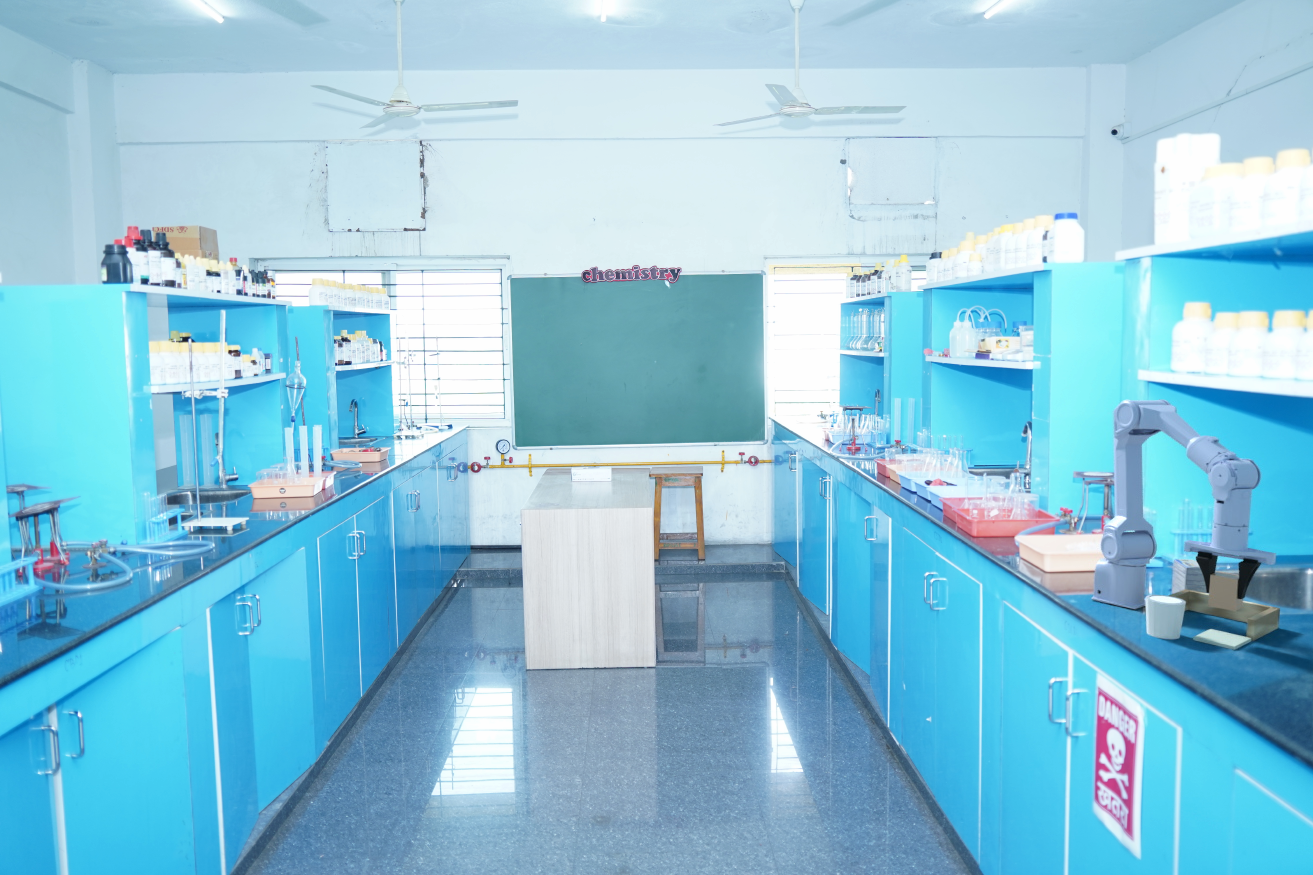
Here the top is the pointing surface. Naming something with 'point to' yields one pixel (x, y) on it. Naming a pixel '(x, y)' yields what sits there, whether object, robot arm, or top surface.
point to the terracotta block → (1224, 591)
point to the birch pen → (1235, 612)
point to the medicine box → (1187, 576)
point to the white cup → (1164, 616)
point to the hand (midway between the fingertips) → (1225, 595)
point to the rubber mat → (1222, 639)
